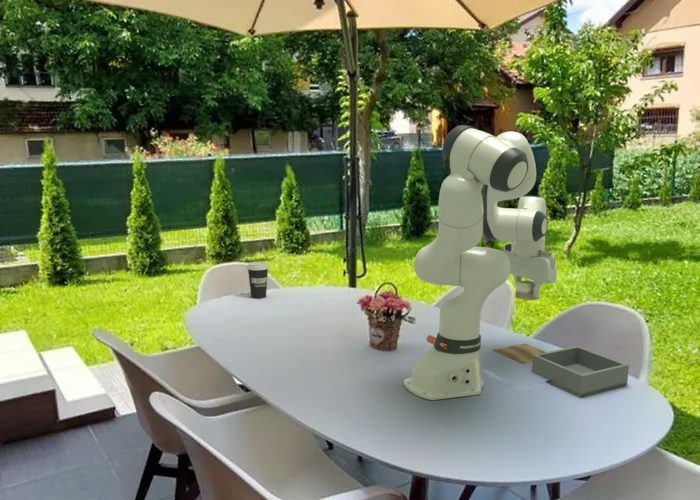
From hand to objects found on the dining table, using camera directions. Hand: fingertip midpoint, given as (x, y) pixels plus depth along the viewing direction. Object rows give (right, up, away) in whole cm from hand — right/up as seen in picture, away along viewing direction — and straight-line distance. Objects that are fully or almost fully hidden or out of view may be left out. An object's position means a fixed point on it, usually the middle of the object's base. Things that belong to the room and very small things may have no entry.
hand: (527, 292), depth 187 cm
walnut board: (0, -21, +4) cm, 21 cm away
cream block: (0, -2, 0) cm, 2 cm away
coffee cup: (-95, -8, +77) cm, 123 cm away
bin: (+10, -24, -16) cm, 30 cm away
